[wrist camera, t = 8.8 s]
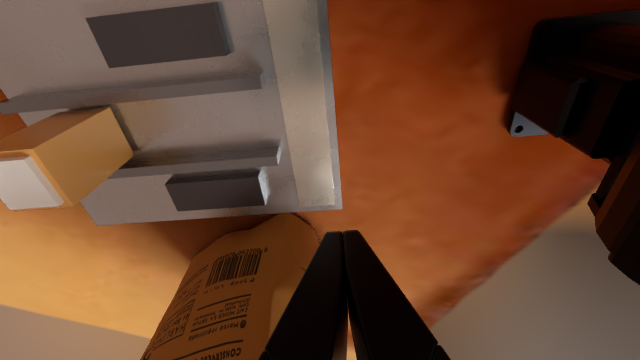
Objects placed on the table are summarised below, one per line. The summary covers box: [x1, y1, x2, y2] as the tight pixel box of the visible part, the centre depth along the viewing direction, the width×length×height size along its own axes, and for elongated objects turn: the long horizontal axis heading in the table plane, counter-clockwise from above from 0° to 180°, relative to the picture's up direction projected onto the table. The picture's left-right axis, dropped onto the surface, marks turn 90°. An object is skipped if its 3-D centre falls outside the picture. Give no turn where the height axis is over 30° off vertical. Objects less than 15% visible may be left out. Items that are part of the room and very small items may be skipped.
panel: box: [0, 0, 342, 225], centre depth 17 cm, size 18×14×3 cm
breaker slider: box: [0, 107, 134, 211], centre depth 15 cm, size 3×3×5 cm
